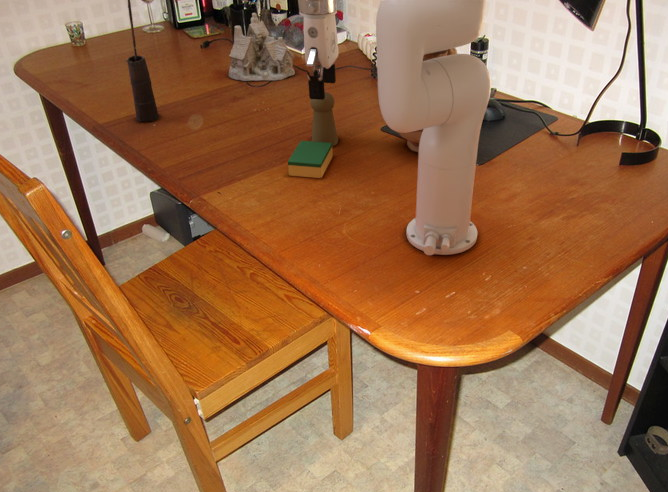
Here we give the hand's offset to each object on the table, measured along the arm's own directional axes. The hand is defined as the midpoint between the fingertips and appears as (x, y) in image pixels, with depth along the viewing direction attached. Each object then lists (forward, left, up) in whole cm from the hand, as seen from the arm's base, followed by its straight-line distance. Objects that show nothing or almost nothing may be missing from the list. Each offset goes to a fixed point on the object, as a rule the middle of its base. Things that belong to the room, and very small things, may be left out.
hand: (323, 90), depth 138 cm
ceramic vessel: (+2, -24, -12) cm, 27 cm away
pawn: (0, 0, -12) cm, 12 cm away
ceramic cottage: (+39, +28, -12) cm, 50 cm away
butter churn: (+4, +46, -12) cm, 48 cm away
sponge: (-12, 0, -12) cm, 17 cm away
